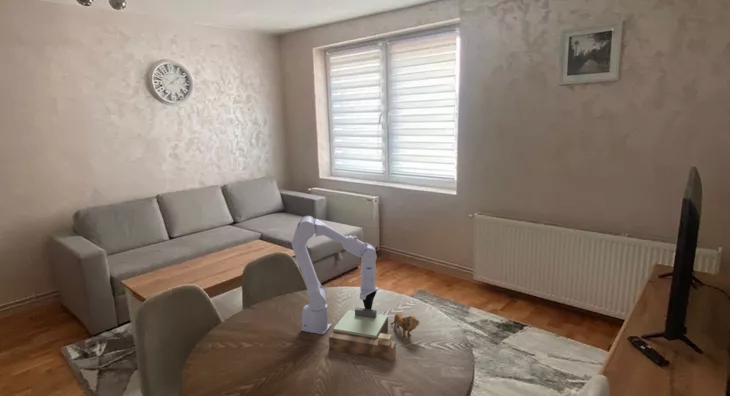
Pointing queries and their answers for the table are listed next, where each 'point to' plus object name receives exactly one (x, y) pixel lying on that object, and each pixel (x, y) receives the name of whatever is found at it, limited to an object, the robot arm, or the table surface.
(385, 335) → the wooden key
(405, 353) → the table surface
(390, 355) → the wooden box
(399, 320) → the lion figurine
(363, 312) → the lid
